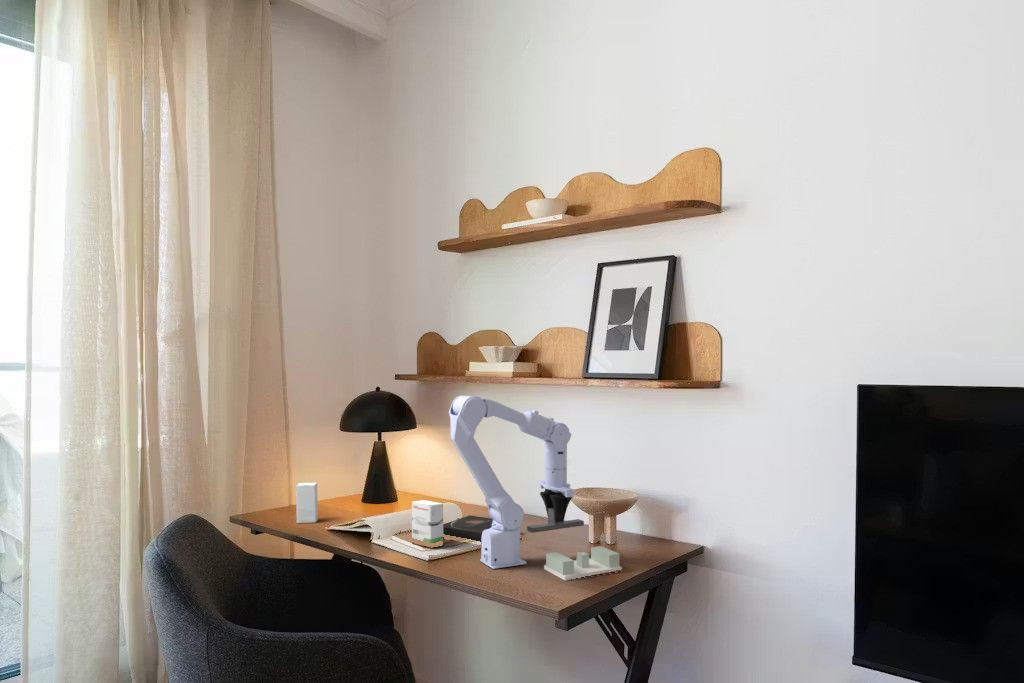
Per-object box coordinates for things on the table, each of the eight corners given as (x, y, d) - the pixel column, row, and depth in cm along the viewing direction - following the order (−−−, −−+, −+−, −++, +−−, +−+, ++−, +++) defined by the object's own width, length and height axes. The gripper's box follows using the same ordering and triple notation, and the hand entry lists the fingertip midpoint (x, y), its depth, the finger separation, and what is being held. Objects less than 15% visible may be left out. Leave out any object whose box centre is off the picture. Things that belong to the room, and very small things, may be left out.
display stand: (565, 580, 159) (565, 563, 159) (544, 569, 168) (544, 552, 168) (621, 571, 166) (621, 554, 166) (598, 560, 175) (598, 544, 175)
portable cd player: (467, 528, 212) (467, 515, 212) (515, 535, 203) (515, 521, 203) (435, 539, 197) (435, 526, 198) (485, 548, 189) (485, 533, 189)
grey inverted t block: (532, 533, 174) (532, 513, 174) (526, 530, 176) (526, 511, 176) (584, 525, 182) (584, 506, 182) (577, 523, 184) (577, 504, 184)
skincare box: (318, 520, 220) (318, 482, 221) (315, 523, 216) (316, 484, 216) (298, 520, 219) (298, 482, 220) (295, 523, 215) (295, 484, 215)
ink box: (444, 546, 189) (444, 502, 190) (430, 549, 186) (430, 505, 186) (424, 540, 195) (424, 498, 195) (410, 543, 191) (410, 501, 192)
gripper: (583, 470, 175) (583, 524, 174) (555, 463, 188) (555, 513, 187) (560, 472, 172) (560, 527, 171) (532, 465, 185) (532, 515, 184)
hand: (555, 520), depth 179 cm, fingers closed on grey inverted t block, 3 cm apart
